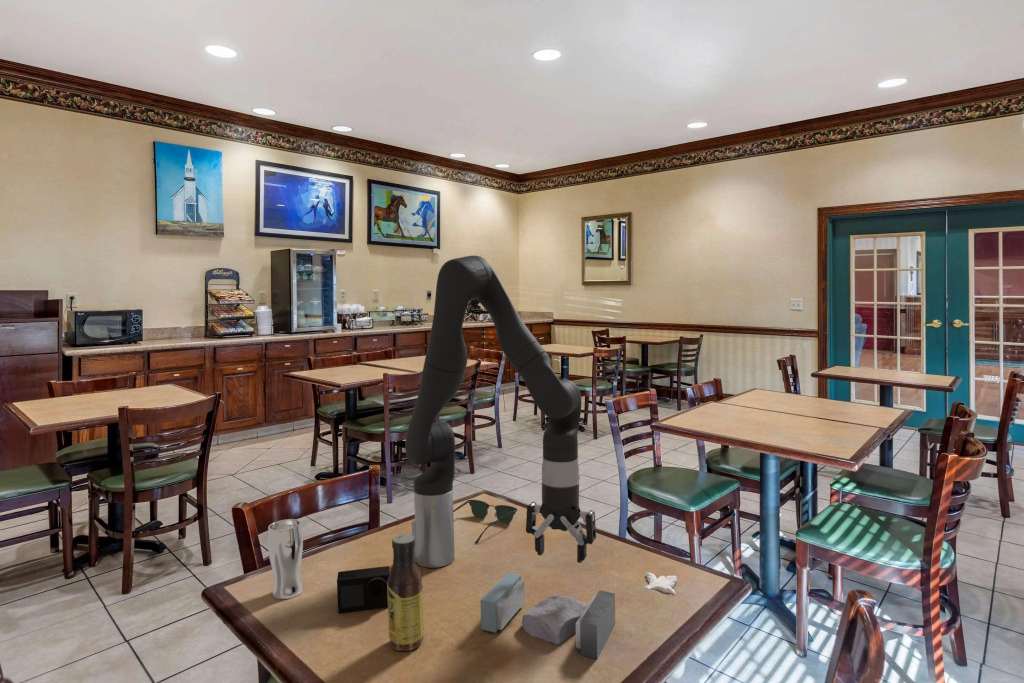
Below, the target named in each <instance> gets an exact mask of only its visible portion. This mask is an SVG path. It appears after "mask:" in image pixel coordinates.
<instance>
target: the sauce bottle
mask: <svg viewBox="0 0 1024 683" xmlns="http://www.w3.org/2000/svg"><path fill="white" fill-rule="evenodd" d="M414 547H415V537H414V536H413V535H412V534H408V533H405V534H404V533H403V534H402V533H401V534H398V535H396V536H394V537H393V538H392V539H391V548H392V553H393V556H392V557H393V560H392V565H391V568H390V571H389V577H388V580H387V594H388V607H387V614H388V619H387V620H388V639H389V644H390V646H391V648H393V649H394V650H395V651H400V652H409V651H413V650H416V649H417V648H419V647H420V646H421V645H422V643H423V641H424V634H425V633H424V632H425V630H424V629H425V628H424V601H423V600H424V596H423V595H424V594H423V583H422V580H423V579H422V578H423V576H422V570H421V569H420V567H419V565H418V564H417V563H416V562H415V557H414Z"/></svg>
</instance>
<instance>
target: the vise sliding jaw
mask: <svg viewBox="0 0 1024 683" xmlns="http://www.w3.org/2000/svg"><path fill="white" fill-rule="evenodd" d="M525 582H526V581H524V580H522V575H521V574H516V573H511V572H506V574H504V576H503V577H502V578H501V579H500V580H499V581H498V582H497V583H495V585H494V586H493V587H492V588H491V589H489V591H488V592H487V593H485V595H484V596H483V597H482V598H480V602H479V603H480V630H483V631H487V632H491V633H494V634H496V632H498V630H499V631H502V630H503V629H504V627H505V626H507V624H508V623H509V621H510V620H511V619H512V618H513V617H514V616H515V615H516V614H517V613H518V611H519V610H520V609H521V608H522V606H523V605H524V604H525V603H526V596H525V595H526V592H525V591H526V590H525Z"/></svg>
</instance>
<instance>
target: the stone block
mask: <svg viewBox="0 0 1024 683" xmlns="http://www.w3.org/2000/svg"><path fill="white" fill-rule="evenodd" d="M587 605H588V603H585V602H583V601H580V600H578V599H576V598H574V597H572V596H569V595H559V594H558V595H550V596H548V597H546V599H543V600H541V601H540V602H538V603H537V604H535V606H534V607H533V608H531V609H529V610H528V611H526V612H525V613H524V614H522V618H521V624H522V628H523V631H524V632H525V633H527V634H528V635H530V636H531V637H535V638H538V639H542V640H543V641H545V642H547V643H551V644H554V645H555V646H559V645H562V643H564V642H565V641H567V640H568V639H569V638H570V637H572V635H574V634H576V622H577V620H578V619H579V617H580V616H581V614H582V613H583V611H584V609H585V608H586V606H587Z"/></svg>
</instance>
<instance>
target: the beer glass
mask: <svg viewBox="0 0 1024 683" xmlns="http://www.w3.org/2000/svg"><path fill="white" fill-rule="evenodd" d="M303 538H304V537H303V530H302V521H300V520H299V519H292V518H288V519H281V520H278V521H277V520H276V521H274V522H272V523H270V524H269V525H268V534H267V547H268V548H267V549H268V550H267V551H268V557H269V562H270V566H271V570H272V575H273V587H272V588H273V589H272V597H273V598H274V599H276V600H289V599H293V598H296V597H297V596H299V595H301V593H303V584H302V579H301V568H302V566H301V565H302V558H303V548H304V543H303V542H304V539H303Z"/></svg>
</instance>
